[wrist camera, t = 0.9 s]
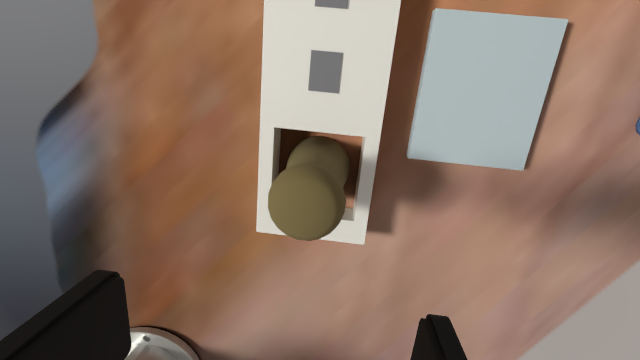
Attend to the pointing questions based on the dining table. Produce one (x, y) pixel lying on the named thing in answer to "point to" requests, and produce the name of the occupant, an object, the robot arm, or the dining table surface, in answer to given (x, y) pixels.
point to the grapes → (638, 126)
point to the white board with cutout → (325, 88)
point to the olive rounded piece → (310, 189)
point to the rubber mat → (483, 87)
